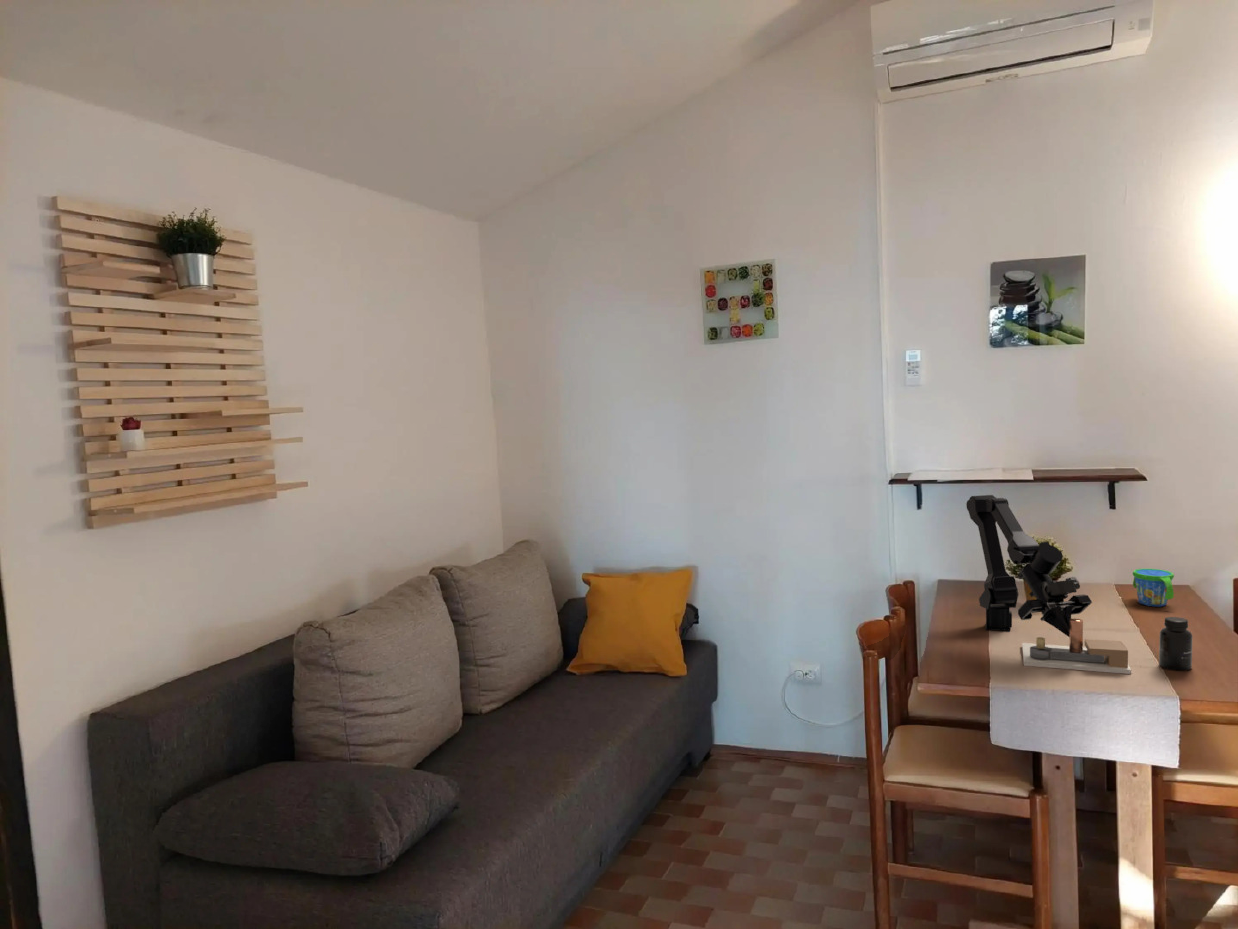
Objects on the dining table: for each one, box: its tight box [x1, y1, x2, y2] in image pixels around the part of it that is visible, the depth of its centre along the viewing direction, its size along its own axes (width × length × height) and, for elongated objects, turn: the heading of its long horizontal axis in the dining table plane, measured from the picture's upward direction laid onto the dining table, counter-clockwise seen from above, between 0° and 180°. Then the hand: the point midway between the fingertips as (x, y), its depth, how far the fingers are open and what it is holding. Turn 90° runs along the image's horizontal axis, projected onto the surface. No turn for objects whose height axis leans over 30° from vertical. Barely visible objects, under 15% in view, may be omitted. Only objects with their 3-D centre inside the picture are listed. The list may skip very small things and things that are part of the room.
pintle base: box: [1021, 636, 1132, 675], centre depth 223 cm, size 24×16×6 cm
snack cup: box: [1132, 568, 1175, 608], centre depth 270 cm, size 16×11×10 cm
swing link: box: [1030, 618, 1104, 663], centre depth 220 cm, size 16×5×10 cm, turn 67°
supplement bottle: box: [1158, 616, 1193, 672], centre depth 214 cm, size 7×7×12 cm
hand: (1071, 636), depth 221 cm, fingers closed, pressing on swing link
